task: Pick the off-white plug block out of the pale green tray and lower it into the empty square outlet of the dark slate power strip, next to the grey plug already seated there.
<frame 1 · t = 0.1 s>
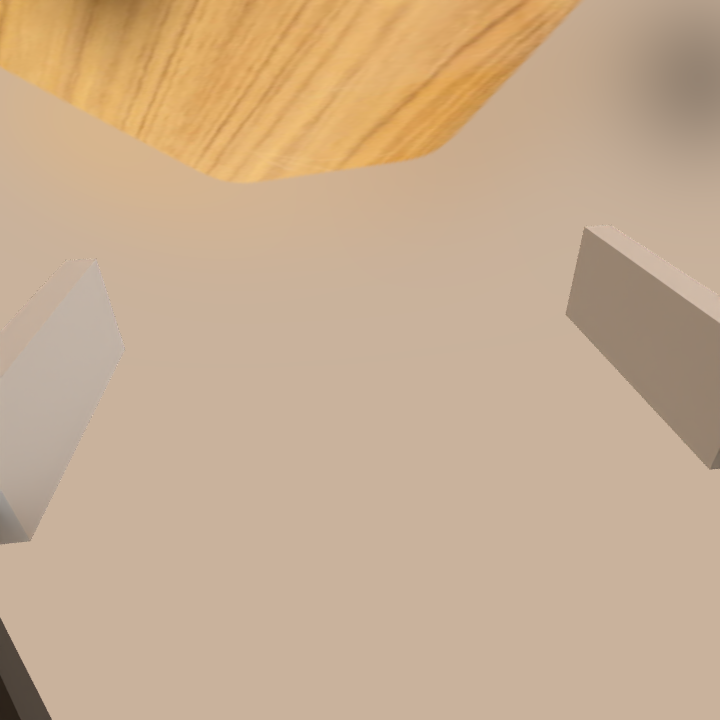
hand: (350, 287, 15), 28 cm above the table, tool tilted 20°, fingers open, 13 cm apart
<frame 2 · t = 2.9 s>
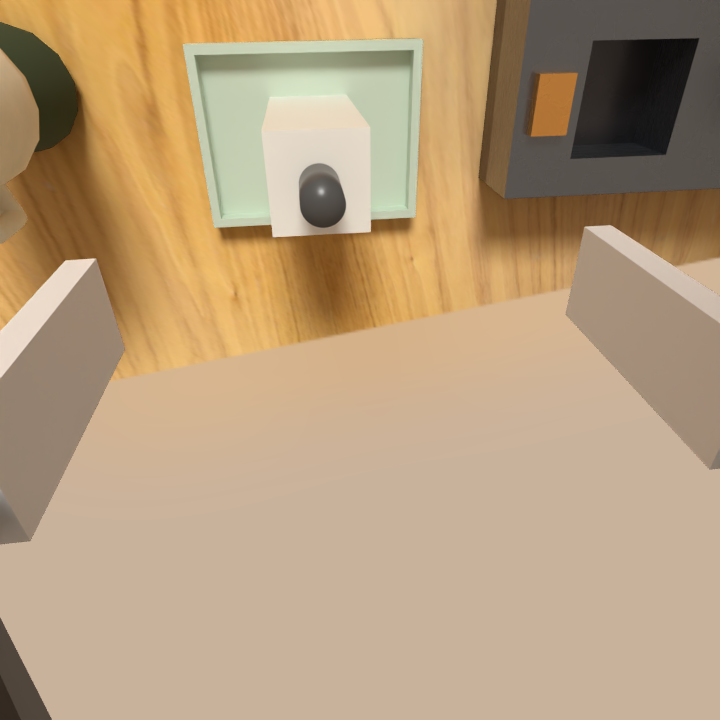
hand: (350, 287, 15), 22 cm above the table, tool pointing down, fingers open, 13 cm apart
plug: (310, 136, 32), resting on tray
power strip: (686, 87, 33), on the table
character mug: (22, 88, 30), on the table
tray: (310, 135, 32), on the table
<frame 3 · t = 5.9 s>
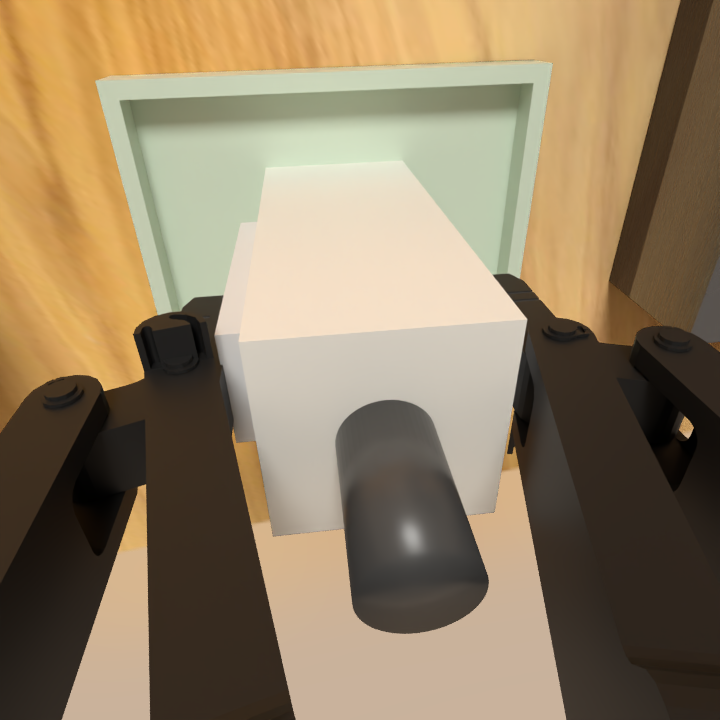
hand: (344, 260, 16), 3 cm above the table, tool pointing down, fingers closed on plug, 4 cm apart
plug: (338, 230, 18), point 1 cm above the table, touching gripper, tray
tray: (336, 226, 19), on the table
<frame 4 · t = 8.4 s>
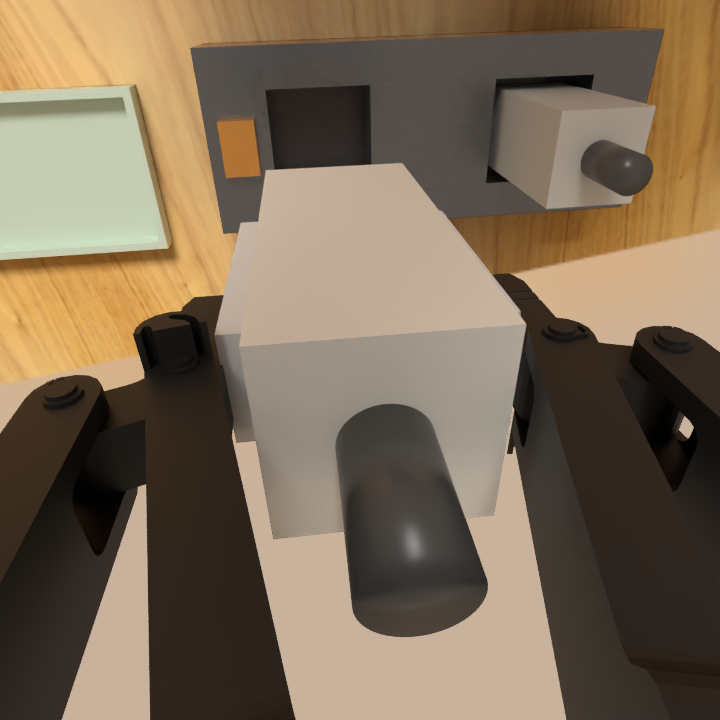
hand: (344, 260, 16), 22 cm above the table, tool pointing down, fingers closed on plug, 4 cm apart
twin plug: (516, 121, 35), point 1 cm above the table, touching power strip
plug: (338, 232, 19), point 20 cm above the table, touching gripper
power strip: (414, 122, 35), on the table
tray: (53, 174, 35), on the table
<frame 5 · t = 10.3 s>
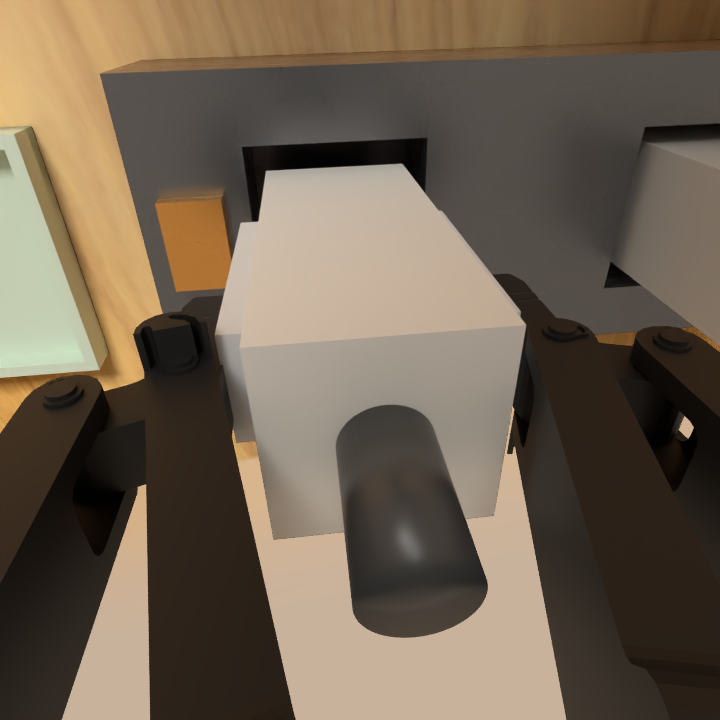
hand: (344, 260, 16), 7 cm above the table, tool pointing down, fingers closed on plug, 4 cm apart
twin plug: (644, 183, 22), point 1 cm above the table, touching power strip
plug: (338, 233, 19), point 4 cm above the table, touching gripper
power strip: (481, 182, 23), on the table
when the fingers open (6 cm above the table, at t = 11.4 s): plug drops 2 cm, resting on power strip.
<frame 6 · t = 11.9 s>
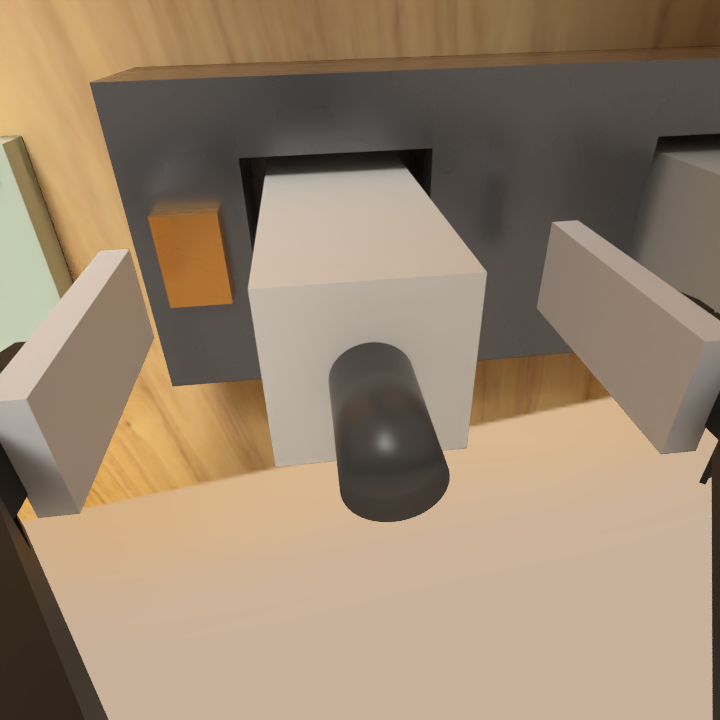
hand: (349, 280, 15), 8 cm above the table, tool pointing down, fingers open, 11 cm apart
twin plug: (655, 193, 21), point 1 cm above the table, touching power strip
plug: (334, 214, 20), point 1 cm above the table, touching power strip
power strip: (486, 192, 22), on the table
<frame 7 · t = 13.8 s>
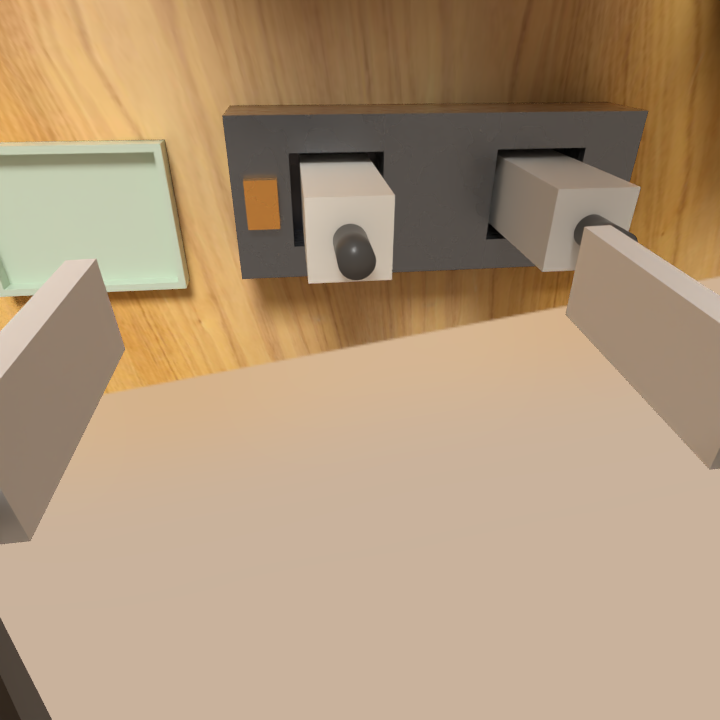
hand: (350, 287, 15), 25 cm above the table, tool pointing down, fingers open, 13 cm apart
twin plug: (514, 182, 38), point 1 cm above the table, touching power strip
plug: (333, 188, 36), point 1 cm above the table, touching power strip
power strip: (420, 180, 38), on the table
tray: (82, 217, 37), on the table
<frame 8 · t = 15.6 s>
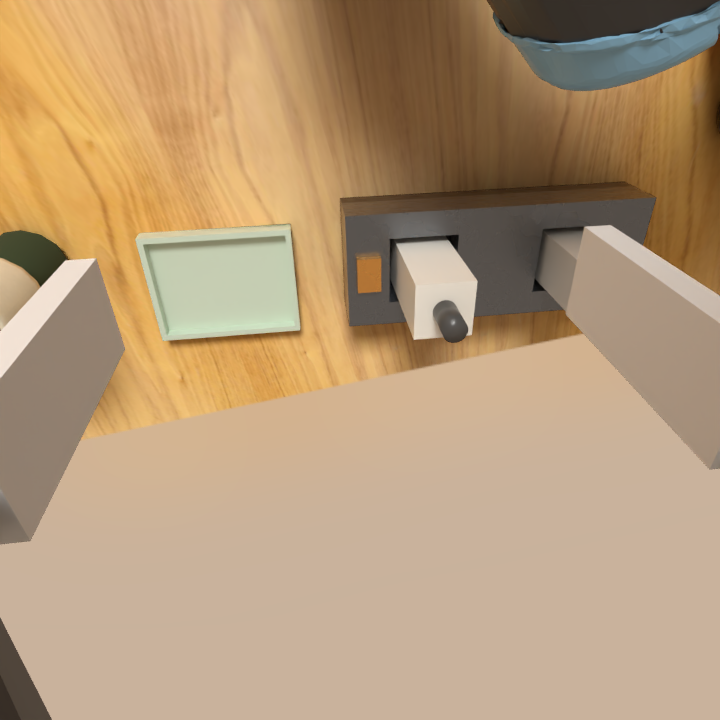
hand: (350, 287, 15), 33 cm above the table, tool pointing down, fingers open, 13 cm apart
twin plug: (552, 244, 49), point 1 cm above the table, touching power strip
plug: (415, 254, 48), point 1 cm above the table, touching power strip
power strip: (479, 243, 50), on the table
character mug: (34, 261, 46), on the table
tray: (225, 280, 49), on the table
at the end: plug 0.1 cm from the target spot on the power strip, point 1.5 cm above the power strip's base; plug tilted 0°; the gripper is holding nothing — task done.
